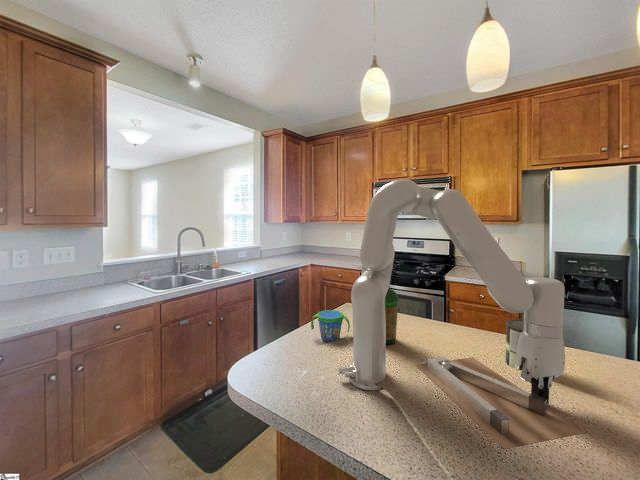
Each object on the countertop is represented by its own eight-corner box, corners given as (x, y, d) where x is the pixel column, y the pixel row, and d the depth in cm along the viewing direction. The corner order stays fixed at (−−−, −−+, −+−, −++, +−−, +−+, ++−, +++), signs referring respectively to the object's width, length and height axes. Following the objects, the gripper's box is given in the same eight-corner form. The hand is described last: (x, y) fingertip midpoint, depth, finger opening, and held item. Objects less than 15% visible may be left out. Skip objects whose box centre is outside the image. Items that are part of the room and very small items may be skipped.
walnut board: (503, 456, 56) (504, 448, 56) (414, 369, 90) (414, 364, 89) (587, 438, 60) (587, 432, 60) (472, 361, 94) (472, 357, 94)
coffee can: (497, 360, 94) (498, 319, 93) (527, 359, 95) (529, 318, 94) (520, 377, 84) (522, 331, 83) (554, 376, 84) (556, 330, 83)
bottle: (400, 351, 102) (400, 275, 100) (370, 349, 103) (369, 274, 102) (396, 339, 112) (396, 269, 110) (369, 338, 114) (369, 269, 112)
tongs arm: (439, 372, 84) (439, 362, 84) (446, 368, 86) (446, 358, 86) (541, 419, 64) (541, 405, 64) (546, 412, 66) (547, 399, 66)
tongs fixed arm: (427, 368, 87) (427, 358, 87) (444, 366, 88) (444, 356, 88) (500, 434, 60) (501, 420, 60) (524, 429, 61) (524, 415, 61)
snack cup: (352, 335, 117) (351, 311, 116) (346, 346, 107) (346, 320, 106) (316, 331, 122) (316, 308, 121) (307, 341, 112) (307, 316, 111)
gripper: (552, 321, 74) (549, 388, 75) (503, 326, 71) (501, 396, 72) (583, 331, 66) (580, 406, 68) (531, 338, 64) (528, 415, 65)
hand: (539, 400), depth 70 cm, fingers closed
